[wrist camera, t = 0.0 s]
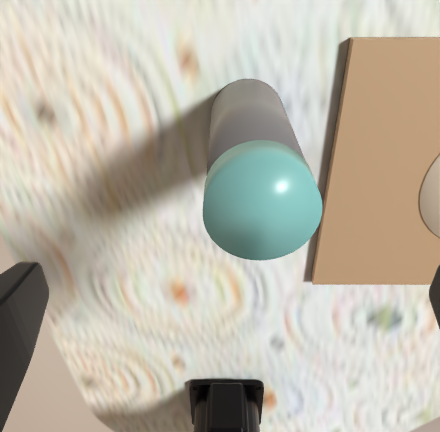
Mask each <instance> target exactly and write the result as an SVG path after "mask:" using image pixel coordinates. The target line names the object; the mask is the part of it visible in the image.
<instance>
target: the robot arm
mask: <svg viewBox="0 0 440 432" xmlns="http://www.w3.org/2000/svg"><path fill="white" fill-rule="evenodd" d="M48 298H49V288H48V285H47V282H46V279H45V276H44V272H43V269H42V267H41V265H40V264H39V263H38V262H19V263H17V264H16V265H14V266H13V267H11V268H10V269H8V270H7V271H5V272H4V273H2V274H0V432H2V430H3V427H4V425H5V422H6V420H7V418H8V415H9V413H10V411H11V408H12V405H13V403H14V401H15V398H16V396H17V393H18V391H19V388H20V386H21V383H22V381H23V379H24V376H25V373H26V371H27V369H28V366H29V363H30V361H31V358H32V355H33V352H34V348H35V345H36V341H37V338H38V334H39V331H40V327H41V324H42V320H43V316H44V313H45V309H46V306H47V302H48ZM429 298H430V302H431V305H432V308H433V311H434V314H435V317H436V320H437V323H438V326H439V329H440V265H439V266H438V268H437V270H436V273H435V276H434V278H433V281H432V283H431V286H430V289H429ZM263 393H264V384H263V382H261V381H192V382H191V383H190V401H191V414H192V424H193V425H194V432H260V428H259V425H260V423H261V414H262V403H263Z"/></svg>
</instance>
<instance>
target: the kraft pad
mask: <svg viewBox="0 0 440 432" xmlns="http://www.w3.org/2000/svg"><path fill="white" fill-rule="evenodd" d="M439 265H440V37H350V43H349V49H348V55H347V61H346V67H345V73H344V80H343V86H342V92H341V98H340V104H339V110H338V117H337V123H336V129H335V135H334V141H333V147H332V154H331V160H330V166H329V172H328V178H327V184H326V191H325V197H324V203H323V209H322V216H321V221H320V227H319V234H318V240H317V246H316V252H315V258H314V264H313V271H312V277H311V280H312V283H313V284H410V285H431V283H432V281H433V278H434V276H435V273H436V270H437V268H438V266H439Z"/></svg>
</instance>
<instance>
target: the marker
mask: <svg viewBox="0 0 440 432" xmlns="http://www.w3.org/2000/svg"><path fill="white" fill-rule="evenodd" d="M321 216H322V199H321V195H320V192H319V190H318V187H317V185H316V182H315V180H314V177H313V175H312V172H311V170H310V168H309V166H308V164H307V162H306V161H305V159H304V156H303V154H302V151H301V149H300V146H299V144H298V141H297V139H296V136H295V134H294V132H293V129H292V127H291V124H290V122H289V119H288V117H287V114H286V112H285V109H284V107H283V104H282V102H281V99H280V97H279V95H278V94H277V92H276V91H275V90H274V89H273V88H272V87H271V86H269V85H268V84H266V83H264V82H262V81H259V80H255V79H242V80H238V81H235V82H232V83H230V84H229V85H227V86H226V87H224V88H223V89H222V90H221V91H220V92H219V94H218V95H217V97H216V98H215V100H214V102H213V105H212V110H211V122H210V136H209V151H208V165H207V177H206V181H205V188H204V202H203V221H204V224H205V228H206V230H207V232H208V234H209V235H210V237H211V238H212V240H213V241H214V242H215V243H216V244H217V245H218V246H219V247H220V248H222V249H223V250H225V251H226V252H228V253H230V254H232V255H234V256H237V257H240V258H244V259H250V260H269V259H275V258H279V257H282V256H285V255H287V254H289V253H292V252H294V251H295V250H297V249H298V248H300V247H301V246H302V245H304V244H305V243H306V242H307V241H308V240H309V239H310V238H311V237H312V235H313V234H314V233H315V231H316V229H317V227H318V225H319V223H320V220H321Z"/></svg>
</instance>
